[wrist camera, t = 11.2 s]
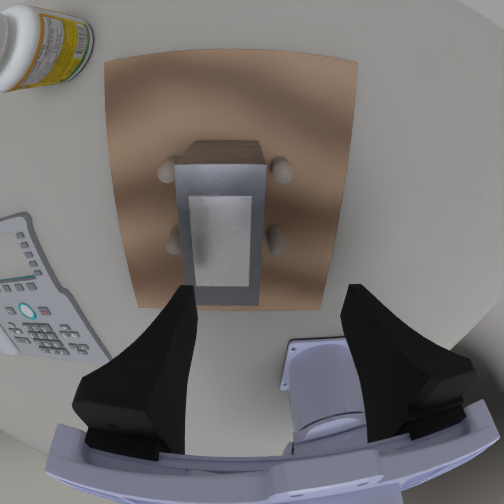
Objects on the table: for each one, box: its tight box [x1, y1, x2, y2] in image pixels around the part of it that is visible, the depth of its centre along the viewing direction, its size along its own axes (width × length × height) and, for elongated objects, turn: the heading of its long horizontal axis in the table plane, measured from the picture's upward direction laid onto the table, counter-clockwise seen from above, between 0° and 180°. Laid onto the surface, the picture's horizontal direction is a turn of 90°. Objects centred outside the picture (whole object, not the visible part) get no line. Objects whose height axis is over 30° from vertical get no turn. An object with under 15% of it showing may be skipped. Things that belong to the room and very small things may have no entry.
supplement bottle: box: [0, 5, 93, 93], centre depth 9 cm, size 5×5×10 cm
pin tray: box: [105, 49, 358, 311], centre depth 19 cm, size 20×16×3 cm
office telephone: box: [0, 212, 112, 365], centre depth 25 cm, size 23×3×20 cm
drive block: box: [174, 140, 267, 306], centre depth 17 cm, size 8×4×6 cm, turn 178°
